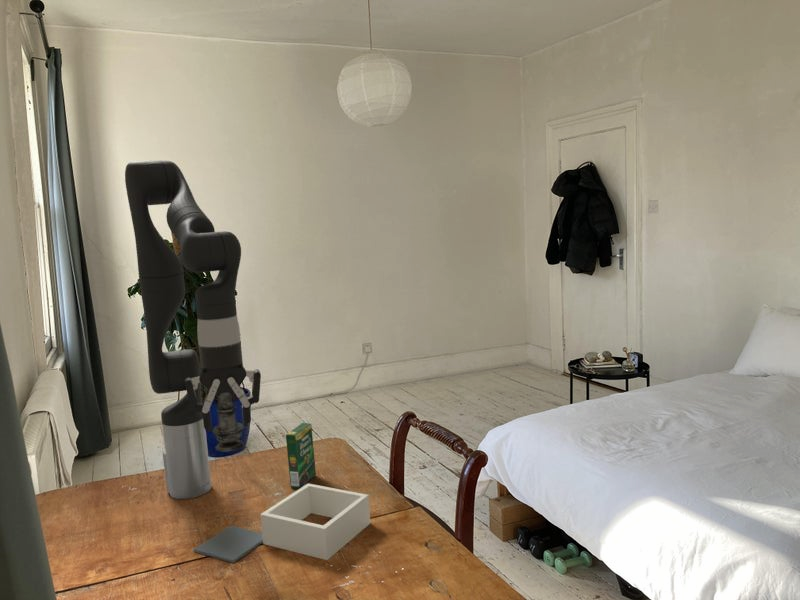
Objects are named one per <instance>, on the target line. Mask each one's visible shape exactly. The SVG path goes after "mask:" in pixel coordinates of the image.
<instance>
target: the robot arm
mask: <svg viewBox="0 0 800 600" xmlns="http://www.w3.org/2000/svg"><path fill="white" fill-rule="evenodd" d="M124 183H125V188H126V196H127V199H128V207H129V210H130V217H131V221H132V227H133V232H134V240H135V248H136V259H137V260H136V261H137V270H138V271H137V272H138V280H139V288H140V290H139V291H140V295H141V302H142V308H143V313H144V314H143V315H144V321H145V330H146V342H147V343H146V345H147V359H148V360H147V362H148V374H149V382H150V385H151V388H152V390H153V393H155V394H158V395H159V394H160V395H161V394H170V393H177V392H184V391H186V393H185V395H184V396H182V398H180V399H179V400H177V401H175V402H174V403H171V404H169V405H168V406H166V407H164V408H162V411H161V413H160V414H161V416H160V417H161V419H160V420H161V426H162V427H161V428H162V434H163V443H164V452H163V454H162V459H163V468H164V477H165V486H166V493H168V494H170V496H171V498H173V499H177V500H179V499H180V500H186V499H194V498H196V497H198V498H199V497H200V496H203V495H205V494H207V493H208V492H210V491H211V489H212V480H211V479H212V478H211V471H210V469H211V468H210V459H209V450H208V442H207V432H208V433H210V432H211V433H213V432H212V429H213V428H212V427H213V426H212V416H211V415H212V414H211V406H212V404H213V402H214V400H215V396H216V397H217V396H220V394H221V393H226V392H227V393H228V392H229V393H230V394H233V395H234V394H235V395H236V397H237V398H238V400H239V401H240V403H241V404H242V405H241V415H242V424H243V425H244V428H247V427H248V424H251V421H252V418H251V406H252V405H254V404H257V403H259V401H260V395H261V394H260V393H261V378H262V376H261V375H262V374H261V372H260V370H259V369H257V368H256V369H254V370H246V368H245V367H244V363H243V362H244V361H243V351H242V340H241V329H240V322H239V320H238V314H237V313H238V312H237V311H238V310H237V304H236V301H237V300H236V287H237V279H238V274H239V268H240V264H241V259H242V258H241V257H242V247H241V243H240V241H239V239H238V237H237V236H236V234H234V233H233V232H230V231H216V230H215V226H214V224H213V222H212V221H211V220H210V219H209V217H208V216H207V215H206V214H205V213H204V211H203V210H202V209H201V208H200V205H198V203H197V202H196V200H195V198H194V195H193V192H192V190H191V188H190V185H189V183H188V182H187V180H186V178H185V176H184V174H183V172H182V170H181V168H180V167H179V166H178V164H177V163H175V162H173V161H170V160H139V161H137V160H136V161H135V160H134V161H130V162H128V163H127V164H126V165H125V170H124ZM157 205H158V206H159V205H169V206H168V208H167V211H166V222H167V226H168V228H169V230H170V231H171V233H172V234H173V235H174V237H175V238H176V240H177V241H178V244H179V248H180V250H179V252H180V257H179V256H178V255H177V253H176V252H175V251H174V249H173V248H172V247H171V246H170V245H169V244H168V243H167V241H166V240H165V239H164V238H163V236H161V234H160V232H159V231H158V230H157V228H156V226H155V224H154V222H153V219H152V217H151V214H150V210H149V206H157ZM183 266H184V267H183ZM184 268H185V269H186V270H188V271H190V272H192V273H196V274H197V273H200V274H201V273H208V272H216V271H218V274H217V276H216V278H215V280H213V281H212V282H209V283H207V284H203V285H201V286H199V287H197V288H196V290H195V293H194V295H195V296H194V298H195V299H194V300H195V307H196V316H197V327H196V328H197V329H196V332H197V342H198V352H199V355H198V353H197V351H196V350H195V349H193V348H192V349H181V350H173V351H171V350H170V351H163V345H164V342H165V338H166V336H167V332H168V330H169V327H170V326H171V324H172V322H173V319H174V318H175V317H176V315H177V312H178V311H179V309H180V307H181V306H182V303H183V301H184V299H185V296H186V286H185V285H186V283H185V275H184ZM246 377H248V381H249V382H250V383H252V385H251V395H250V396H247V394H246V393H245V391H244V390H243V388H242V384H243V382H244V380H245V379H246ZM202 385H203V387H204V388H206V390H207V391H206V393H205V397H204V400H203V397H202ZM206 430H207V431H206Z"/></svg>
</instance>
